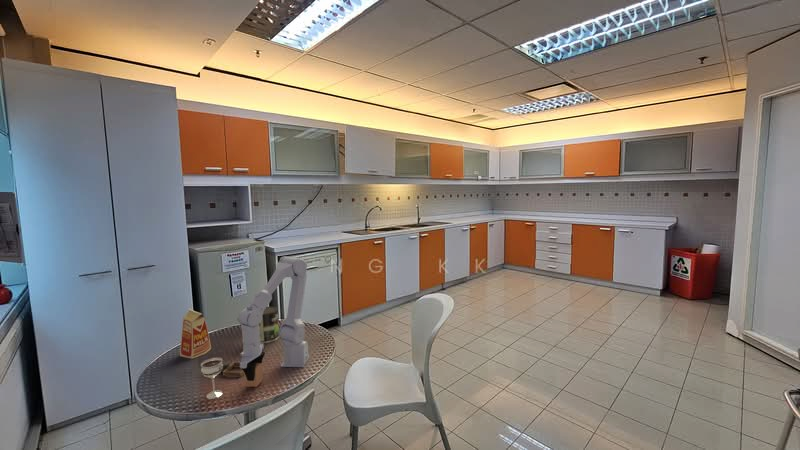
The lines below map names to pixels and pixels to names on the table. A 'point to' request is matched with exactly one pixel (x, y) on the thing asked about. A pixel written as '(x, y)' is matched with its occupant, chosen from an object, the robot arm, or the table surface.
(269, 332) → the coffee can
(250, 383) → the block
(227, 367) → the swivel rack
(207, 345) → the milk carton
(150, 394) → the table surface
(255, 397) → the table surface
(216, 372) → the wineglass
